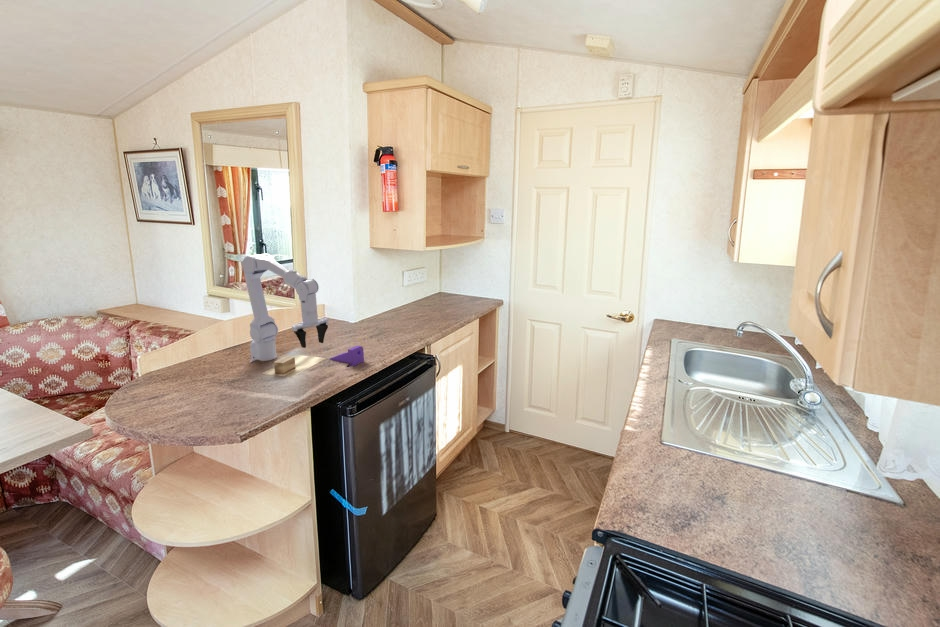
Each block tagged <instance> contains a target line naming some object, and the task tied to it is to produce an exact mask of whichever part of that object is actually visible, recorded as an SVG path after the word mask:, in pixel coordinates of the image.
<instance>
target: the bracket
mask: <svg viewBox="0 0 940 627" xmlns="http://www.w3.org/2000/svg"><path fill="white" fill-rule="evenodd" d="M329 360H332V361H336V362H341V363H347V366H348V367H355V366H357V365H359V364H361V363H364V362H365V355H364V348H363V346H362V345H355V346H353V347H351V348H350V347H349V349H347V352H342V353H339V354H337V355H335V356H333V357H330V358H329Z"/></svg>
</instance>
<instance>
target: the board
mask: <svg viewBox="0 0 940 627" xmlns="http://www.w3.org/2000/svg"><path fill="white" fill-rule="evenodd" d="M294 357H295V367H296V368H295V369H293V370H291V371H289V372H288V373H286V374H276V373H275V369H274V366H273V367H271V368H270V369H268V370H265V371H264V372H262V373H261V374H262V375H270V376H277V377H278V376H280V377H286V378H287V377H288V378H294V377H297V375H299V374H302V373H303V372H305V371H307V370H308V369H310V368H311V367H313V366H315V365H317V364H318V363H320V362H322V361H324V360H325V359H326V357H320V356H319V357H318V356H309V355H299V354H298V355H297V354H296V355H294Z"/></svg>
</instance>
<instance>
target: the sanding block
mask: <svg viewBox="0 0 940 627" xmlns="http://www.w3.org/2000/svg"><path fill="white" fill-rule="evenodd" d="M273 367H274V369H275V373H276V374H286V373H288V372H289V371H291V370H293V369H295V368H296V367H295V356H288V355H285V356H283V357H281V358H279V359H277V360H276V361H273Z"/></svg>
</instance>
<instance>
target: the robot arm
mask: <svg viewBox="0 0 940 627" xmlns="http://www.w3.org/2000/svg"><path fill="white" fill-rule="evenodd" d="M241 265H242V266H241V267H242V270H243V275H244V280H245V284H246V288H247V292H248V293H247V294H248V297H249V301H250V306H251V310H252V314H253V320H251V322H250V323H249V328H250V331H249V336H250V337H251V339H252V341H251V342H250V344H249V350H250V357H251V360H249V361H250V363H252V362H255V361H261V362H263V361H264V362H265V361H267V362H268V361H273V360H275V359H277V348H276V339H277V335H278V333H279V327H278V325H277V324H276V322H275V319H274V317H272V316H270V315H269V313H268V308H267V302H266V298H265V294H264V290H263V286H262V281H261V278H262V276H263V274H264V273H266V272H267V271H269V272H271V273H273V274H276V275H277V276H278V277H281V278H282V280H283V282H284V283H285V284H287V285H288V286H290V287H291V288H293V289H294V290H295V292H296V294H297V295H298V300H299V301H300V308H301V309H300V310H301V318H302V319H301V320H302V321H301V322H298V323H297V324H294V325H291V330H292V331H293V333H294V335H295V336H296V337H297V339H298V341H299V343H300V344H299V345H300V348H303V349H306V348H307V344H306V343H307V342H306V336H307V331H306V330H305V329H309V328H314V327H315V328H316V330H317V331H316V332H317V339H318V343H320V344H323V343H324V340H325V335H326V333H327V330H328V329H329V325H328V324H329V318H327V317H324V318H319V317H318V316H319V315H318V304H317V293H318V291H319V284H318V281H317V280H315V279H314V278H308V277H306V276H303V275H302V274H300V273H299V272H298V270H296V269H289V270H288V269H287V268H286V267H284V265H282V264H280V263H279V262H278V261H276V260H275V259H274V256H273V255H271V254H269V253H267V252H265V253H261V254H254V255H246V256H244V258H243V259H242V261H241Z"/></svg>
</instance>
